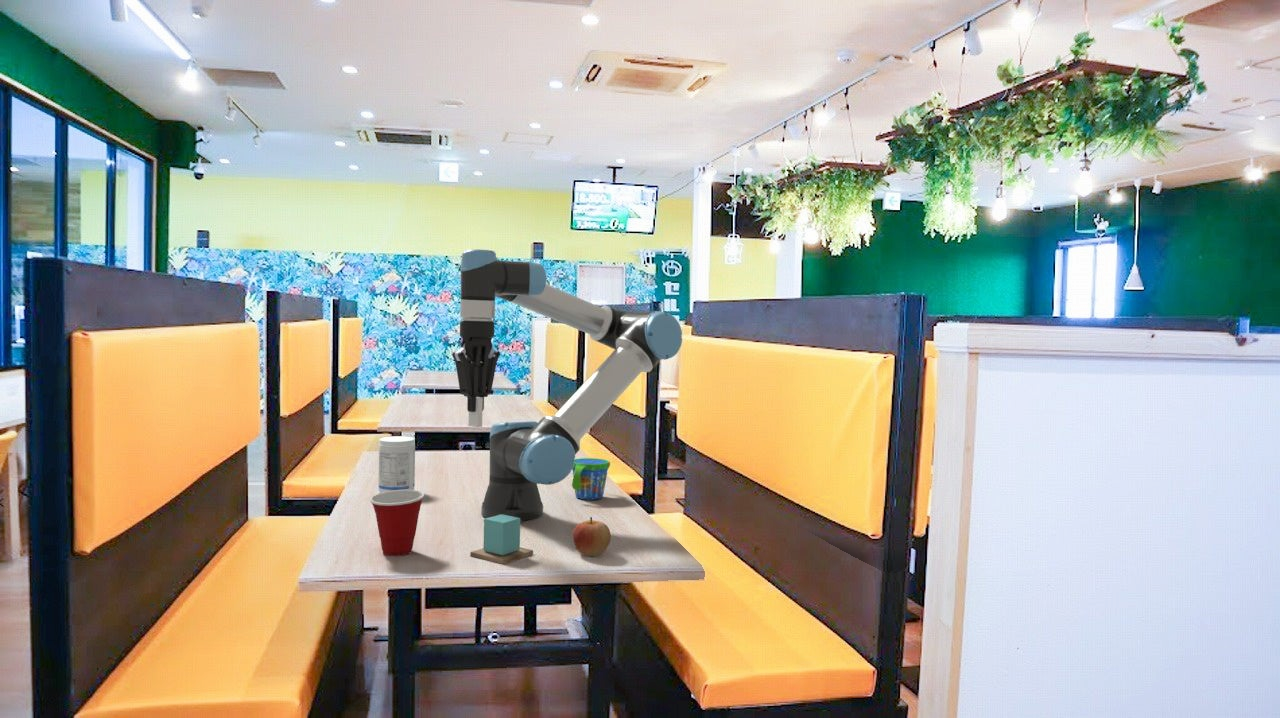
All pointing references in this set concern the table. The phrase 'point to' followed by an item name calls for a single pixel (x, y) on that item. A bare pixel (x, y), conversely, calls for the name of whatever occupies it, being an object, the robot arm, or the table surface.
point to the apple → (591, 537)
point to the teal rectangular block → (501, 534)
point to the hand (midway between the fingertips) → (475, 426)
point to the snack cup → (589, 477)
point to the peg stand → (501, 558)
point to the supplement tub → (396, 463)
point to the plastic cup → (397, 519)
